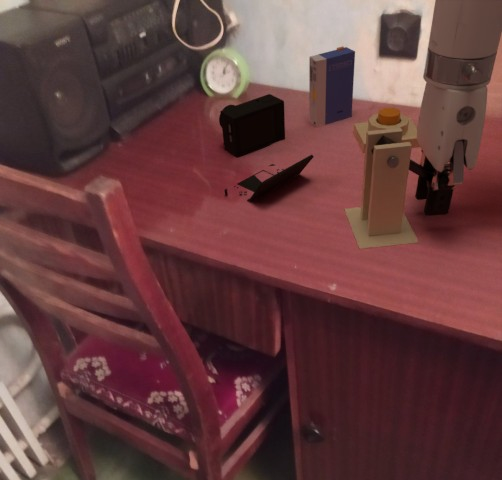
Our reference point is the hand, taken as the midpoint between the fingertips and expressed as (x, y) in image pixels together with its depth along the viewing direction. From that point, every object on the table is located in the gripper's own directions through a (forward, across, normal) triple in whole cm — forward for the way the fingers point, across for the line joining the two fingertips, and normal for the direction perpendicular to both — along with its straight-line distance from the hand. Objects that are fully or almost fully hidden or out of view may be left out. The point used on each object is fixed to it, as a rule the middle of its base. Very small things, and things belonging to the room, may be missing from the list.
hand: (431, 204), depth 79 cm
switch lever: (-4, 0, +4) cm, 6 cm away
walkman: (+4, +37, +7) cm, 38 cm away
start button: (0, +27, -1) cm, 27 cm away
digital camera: (+4, +31, +22) cm, 38 cm away
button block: (+3, +27, -1) cm, 27 cm away
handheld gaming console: (+4, +14, +21) cm, 25 cm away
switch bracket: (+4, 0, +7) cm, 8 cm away
